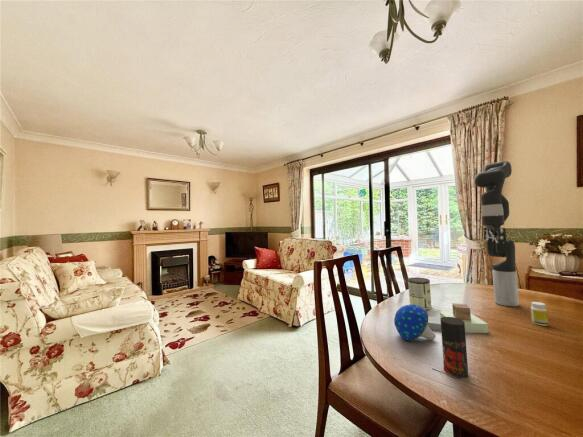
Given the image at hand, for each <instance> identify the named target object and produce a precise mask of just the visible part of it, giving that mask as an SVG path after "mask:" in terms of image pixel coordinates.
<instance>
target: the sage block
mask: <svg viewBox="0 0 583 437" xmlns="http://www.w3.org/2000/svg"><path fill="white" fill-rule="evenodd" d="M442 317H454V315H453V311H439V318H442ZM454 318H455V317H454ZM463 321H464V323H465V333H472V334H473V333H479V334H488V333H489V324H488V323H487V322H485V321H484V320H482V319H481V318H479V317H477V316H476V315H474V314H472V313H471V321H470V320H463Z"/></svg>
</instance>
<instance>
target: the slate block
mask: <svg viewBox="0 0 583 437" xmlns="http://www.w3.org/2000/svg"><path fill="white" fill-rule="evenodd" d="M427 325H428V326H429V328H430V329H431V330H432V331H438V332H439V331H441V318H440V317H436V316H428V324H427Z"/></svg>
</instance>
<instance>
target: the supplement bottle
mask: <svg viewBox="0 0 583 437" xmlns="http://www.w3.org/2000/svg"><path fill="white" fill-rule="evenodd" d="M530 305H531V306H530V316H531V319H530V320H531V322H532V324H535V325H537V326H545V327H547V326H549V317H548V310H547V308H546V304H545V303H544V302H540V301H531V304H530Z"/></svg>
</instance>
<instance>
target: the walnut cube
mask: <svg viewBox="0 0 583 437" xmlns="http://www.w3.org/2000/svg"><path fill="white" fill-rule="evenodd" d="M452 312H453V315H454V317H455V318H458V319H461V320H470V321H471V314H472V313H471V307H470V306H469V305H468V304H466V303H452Z"/></svg>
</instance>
